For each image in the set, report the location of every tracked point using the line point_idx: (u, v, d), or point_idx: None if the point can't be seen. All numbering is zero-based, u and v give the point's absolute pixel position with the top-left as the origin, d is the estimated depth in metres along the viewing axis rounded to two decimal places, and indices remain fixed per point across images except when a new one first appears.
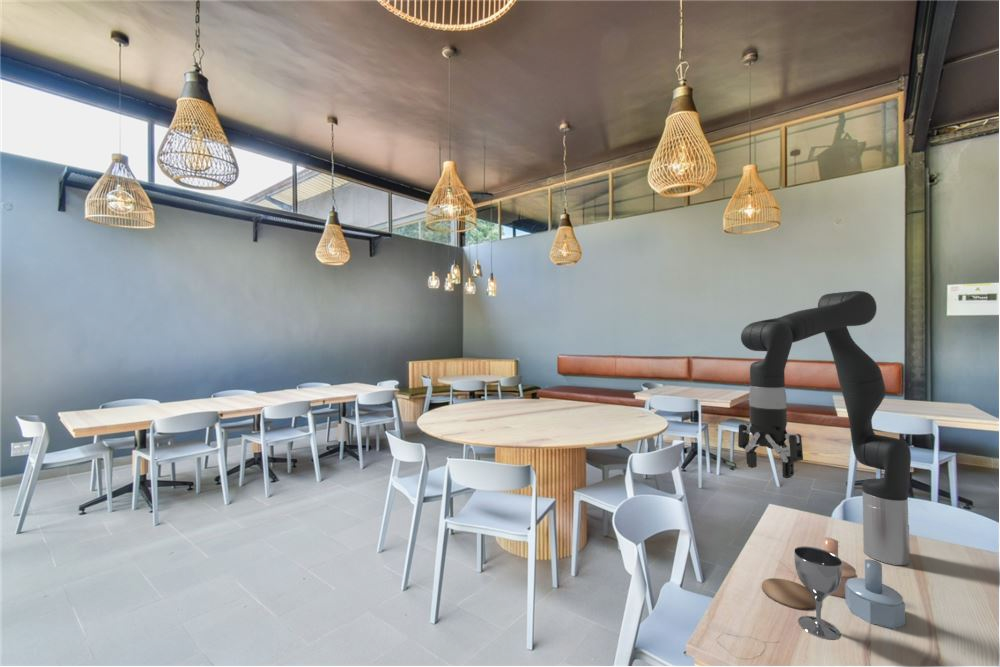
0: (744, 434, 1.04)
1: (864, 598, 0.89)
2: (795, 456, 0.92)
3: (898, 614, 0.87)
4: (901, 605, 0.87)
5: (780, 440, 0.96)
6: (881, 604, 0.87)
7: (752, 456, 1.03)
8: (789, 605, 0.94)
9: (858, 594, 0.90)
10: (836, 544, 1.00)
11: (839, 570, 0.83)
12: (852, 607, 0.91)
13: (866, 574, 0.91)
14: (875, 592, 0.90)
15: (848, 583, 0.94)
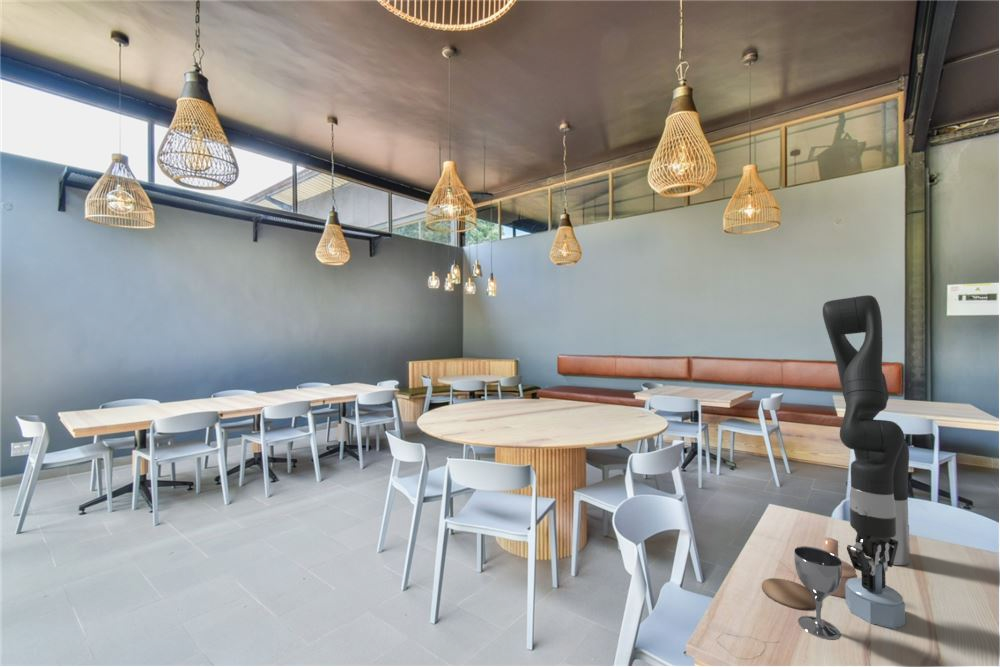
0: None
1: (864, 598, 0.89)
2: (892, 560, 0.91)
3: (898, 614, 0.87)
4: (901, 605, 0.87)
5: None
6: (881, 604, 0.87)
7: None
8: (789, 605, 0.94)
9: (858, 594, 0.90)
10: (836, 544, 1.00)
11: (839, 570, 0.83)
12: (852, 607, 0.91)
13: None
14: (875, 592, 0.90)
15: (848, 583, 0.94)
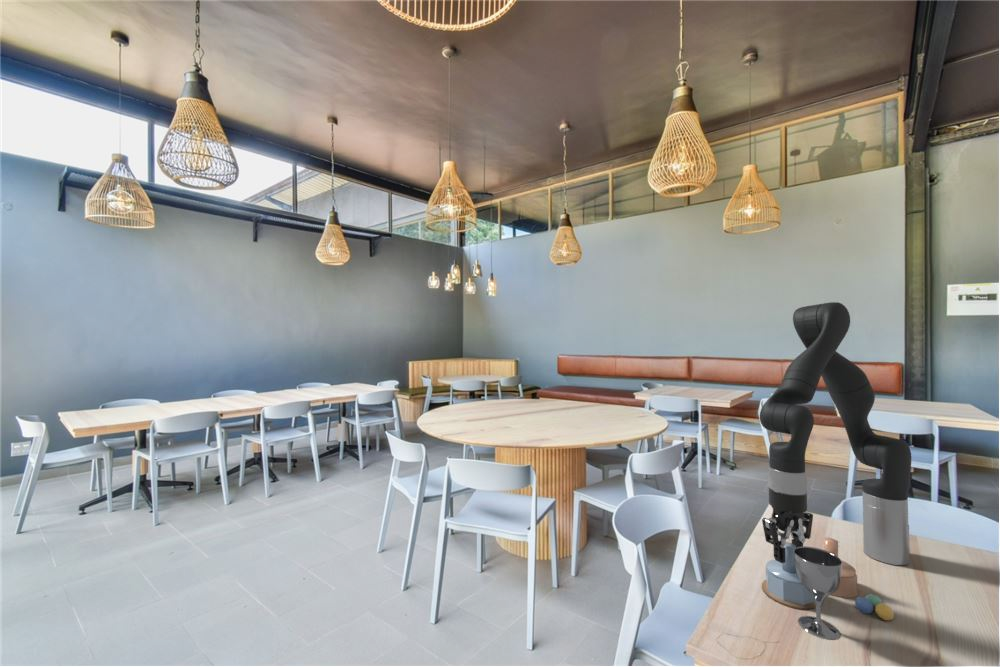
0: None
1: (778, 577, 0.96)
2: (809, 533, 0.99)
3: (808, 591, 0.94)
4: None
5: None
6: (792, 582, 0.94)
7: None
8: (789, 605, 0.94)
9: (774, 574, 0.97)
10: (836, 544, 1.00)
11: (839, 570, 0.83)
12: (769, 586, 0.98)
13: None
14: (789, 572, 0.97)
15: (767, 564, 1.01)
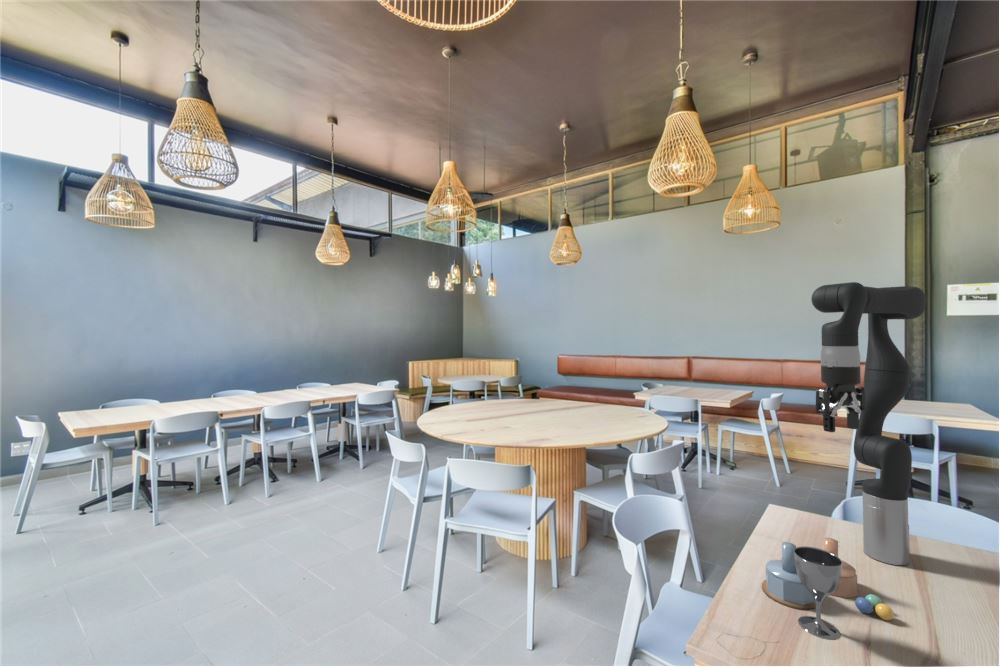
0: None
1: (778, 577, 0.96)
2: (865, 405, 1.03)
3: (808, 591, 0.94)
4: None
5: None
6: (792, 582, 0.94)
7: None
8: (789, 605, 0.94)
9: (774, 574, 0.97)
10: (836, 544, 1.00)
11: (839, 570, 0.83)
12: (769, 586, 0.98)
13: (782, 555, 0.98)
14: (789, 572, 0.97)
15: (767, 564, 1.01)
